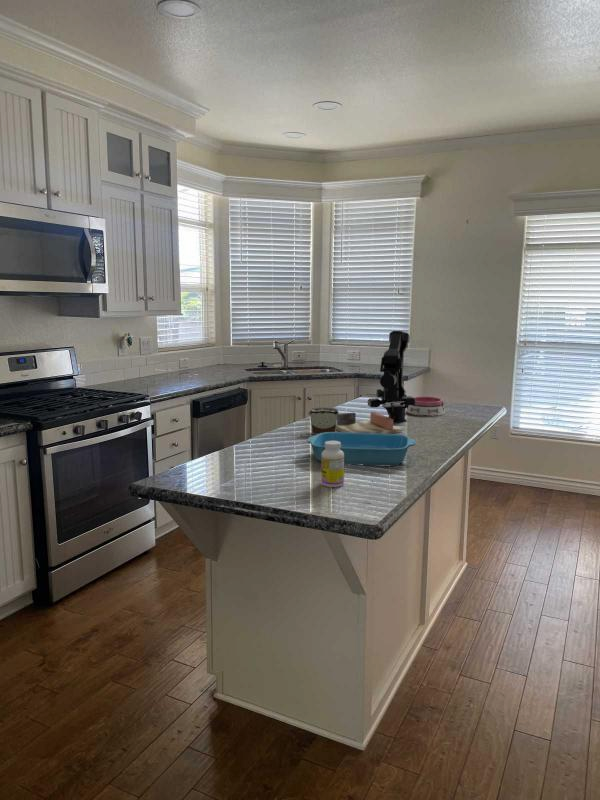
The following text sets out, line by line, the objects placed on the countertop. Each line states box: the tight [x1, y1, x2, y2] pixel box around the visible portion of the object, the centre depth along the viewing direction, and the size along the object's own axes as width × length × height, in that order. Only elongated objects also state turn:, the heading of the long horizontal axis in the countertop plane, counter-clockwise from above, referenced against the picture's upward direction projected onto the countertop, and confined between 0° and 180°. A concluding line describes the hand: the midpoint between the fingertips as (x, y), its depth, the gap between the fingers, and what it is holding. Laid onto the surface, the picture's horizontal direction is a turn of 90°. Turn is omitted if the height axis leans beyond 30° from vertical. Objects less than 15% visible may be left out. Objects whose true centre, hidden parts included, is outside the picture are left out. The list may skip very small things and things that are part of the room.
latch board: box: [336, 412, 403, 434], centre depth 247 cm, size 22×20×6 cm
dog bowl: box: [405, 396, 446, 416], centre depth 285 cm, size 18×19×7 cm
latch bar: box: [369, 411, 394, 429], centre depth 248 cm, size 17×3×4 cm, turn 19°
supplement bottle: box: [320, 441, 345, 488], centre depth 174 cm, size 7×7×13 cm
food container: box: [308, 407, 340, 435], centre depth 243 cm, size 12×6×10 cm, turn 84°
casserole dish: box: [306, 431, 416, 466], centre depth 203 cm, size 37×22×7 cm, turn 78°
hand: (391, 422), depth 245 cm, fingers closed
